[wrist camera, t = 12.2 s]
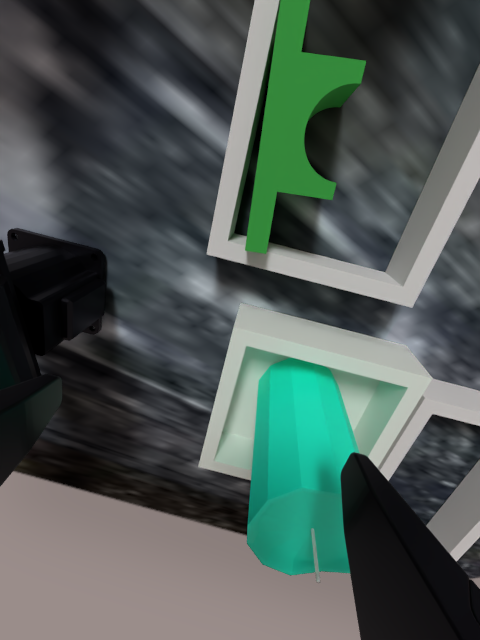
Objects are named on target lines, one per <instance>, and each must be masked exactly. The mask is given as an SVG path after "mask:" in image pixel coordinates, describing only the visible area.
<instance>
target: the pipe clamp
mask: <svg viewBox="0 0 480 640" xmlns="http://www.w3.org/2000/svg"><path fill="white" fill-rule="evenodd" d="M309 5H310V0H281V1H280V8H279V15H278V22H277V29H276V36H275V43H274V50H273V57H272V64H271V71H270V78H269V85H268V92H267V99H266V106H265V113H264V120H263V127H262V134H261V141H260V148H259V155H258V162H257V169H256V176H255V183H254V190H253V197H252V204H251V211H250V218H249V225H248V232H247V239H246V246H245V251H250V252H256V253H263V254H266V253H267V247H268V241H269V236H270V230H271V224H272V218H273V213H274V207H275V201H276V195H277V192H283V193H289V194H296V195H302V196H309V197H316V198H322V199H329V200H332V199H333V195H334V191H335V186H336V183H335V182H331V181H328V180H326V179H324V178H322V177H321V176H320V175H318V174H317V173H316V172H315V171H314V169H313V168H312V167H311V165H310V163H309V161H308V159H307V156H306V153H305V147H304V135H305V129H306V125H307V122H308V120H309V119H310V118H311V117H312V116H314V115H315V114H316V113H318V112H320V111H322V110H324V109H327V108H331V107H341V106H342V104H343V103H344V102H345V101H346V100H347V99H348V98H349V96H350V95H351V94H352V93H353V92H354V91H355V90H356V89H357V87H358V86H359V85H360V84H361V81H362V77H363V72H364V68H365V64H366V61H364V60H356V59H349V58H341V57H334V56H327V55H319V54H312V53H304V52H301V51H302V45H303V39H304V34H305V28H306V22H307V16H308V11H309Z"/></svg>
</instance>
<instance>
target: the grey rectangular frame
mask: <svg viewBox="0 0 480 640" xmlns="http://www.w3.org/2000/svg"><path fill="white" fill-rule="evenodd" d="M432 414H435V415H439V416H443V417H447V418H451V419H455V420H458V421H462V422H466V423H470V424H474V425H478V426H480V391H478V390H474V389H471V388H467V387H463V386H459V385H455V384H451V383H447V382H444V381H440V380H436V379H432V380H431V382H430V384H429V385H428V387H427V388H426V390H425V392H424V393H423V395H422V396H421V398H420V400H419V401H418V403H417V405H416V406H415V408H414V409H413V411H412V413H411V414H410V416H409V418H408V419H407V421H406V422H405V424H404V426H403V427H402V429H401V431H400V432H399V434H398V435H397V437H396V439H395V440H394V442H393V444H392V445H391V447H390V448H389V450H388V452H387V453H386V455H385V457H384V458H383V460H382V461H381V463H380V465H379V466H378V469H379V471H380V472H381V473H382V474H383V475H384V477H385V478H386V479H387V480H388V481H389V479H390V478H391V476H392V475H393V473H394V472H395V470H396V469H397V467H398V466H399V464H400V462H401V461H402V459H403V458H404V456H405V455H406V453H407V452H408V450H409V449H410V447H411V446H412V444H413V443H414V441H415V440H416V438H417V437H418V435H419V433H420V432H421V430H422V429H423V427H424V426H425V424H426V423H427V421H428V420H429V418H430V417H431V415H432ZM426 526H427V528H428V529H429V530H430V531H431V532H432V533H433V535H434V536H435V537H436V538H437V539H438V541H439V542H440V543H441V544H442V545H443V546H444V548H445V549H446V550H447V551H448V552H449V554H450V555H451V556H452V557H453V558H454V559H455V561H457V560H458V559H459V558H460V557H461V556H462V555H463V554H464V553H465V552H466V551H467V550H468V549H469V548H470V547H471V546H472V544H473V543H474V542H475V541H476V540H477V539H478V538H479V537H480V460H479V461H478V462H477V463H476V465H475V466H474V467H473V468H472V469H471V471H470V472H469V473H468V474H467V476H466V477H465V478H464V479H463V481H462V482H461V483H460V484H459V486H458V487H457V488H456V489H455V491H454V492H453V493H452V494H451V495H450V497H449V498H448V499H447V500H446V502H445V503H444V504H443V505H442V507H441V508H440V509H439V510H438V512H437V513H436V514H435V515H434V516H433V518H432V519H431V520H430V521H429V523H428V524H427V525H426Z"/></svg>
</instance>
